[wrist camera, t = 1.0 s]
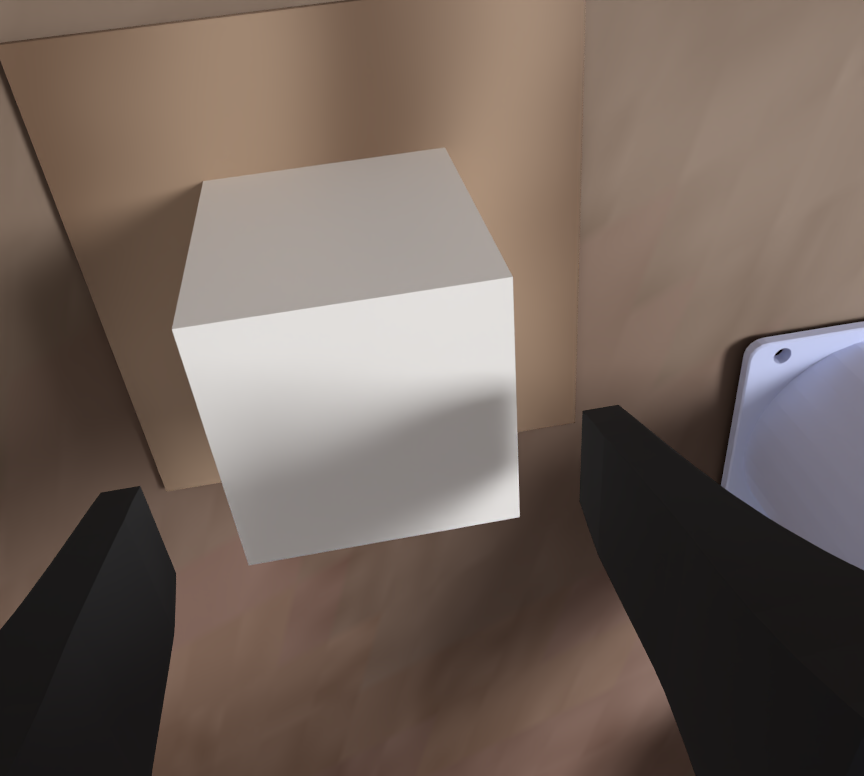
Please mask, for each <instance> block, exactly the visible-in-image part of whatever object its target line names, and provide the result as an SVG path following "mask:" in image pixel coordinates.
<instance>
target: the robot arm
mask: <svg viewBox="0 0 864 776" xmlns="http://www.w3.org/2000/svg"><path fill="white" fill-rule="evenodd" d="M783 348H784V349H783ZM781 349H783V351H782V352H781V353H780V354H779V355H776V356H775V354H776V353H777V352H778V351H779V350H781ZM580 504H581V507H582V510H583V513H584V516H585V519H586V522H587V525H588V528H589V531H590V533H591V536H592V539H593V542H594V545H595V547H596V550H597V553H598V555H599V557H600V560H601V562H602V564H603V566H604V568H605V570H606V572H607V574H608V576H609V578H610V580H611V582H612V584H613V586H614V588H615V590H616V592H617V594H618V596H619V598H620V600H621V602H622V604H623V607H624V609H625V611H626V613H627V615H628V617H629V619H630V621H631V623H632V625H633V627H634V629H635V631H636V633H637V635H638V637H639V639H640V641H641V643H642V645H643V647H644V649H645V651H646V653H647V655H648V657H649V659H650V661H651V663H652V665H653V667H654V669H655V671H656V674H657V676H658V678H659V680H660V682H661V685H662V687H663V689H664V691H665V694H666V697H667V699H668V702H669V705H670V707H671V710H672V712H673V715H674V718H675V720H676V723H677V726H678V728H679V731H680V734H681V736H682V739H683V742H684V744H685V747H686V750H687V752H688V755H689V758H690V761H691V764H692V767H693V769H694V772H695V775H696V776H864V321H862V322H856V323H850V324H844V325H838V326H831V327H825V328H819V329H813V330H807V331H801V332H795V333H789V334H783V335H776V336H770V337H764V338H760V339H757V340H755V341H754V342H752V343H751V344H750V345H749V346H748V347H747V348H746V350H745V353H744V356H743V361H742V367H741V373H740V379H739V384H738V390H737V396H736V402H735V407H734V413H733V419H732V425H731V430H730V436H729V442H728V448H727V453H726V459H725V465H724V471H723V476H722V482H721V486H720V485H719V484H718V483H716V482H715V481H714V480H712V479H711V478H710V477H708V476H707V475H706V474H704V473H703V472H702V471H700V470H699V469H698V468H696V467H695V466H694V465H693V464H691V463H690V462H689V461H687V460H686V459H685V458H683V457H682V456H681V455H680V454H678V453H677V452H676V451H675V450H673V449H672V448H671V447H670V446H668V445H667V444H666V443H665V442H663V441H662V440H661V439H660V438H659V437H657V436H656V435H655V434H654V433H652V432H651V431H650V430H649V429H648V428H646V427H645V426H644V425H643V424H641V423H640V422H639V421H638V420H637V419H635V418H634V417H633V416H632V415H630V414H629V413H628V412H627V411H625V410H624V409H623V408H622V407H620V406H619V405H615V406H609V407H603V408H597V409H591V410H585V411H583V415H582V445H581V475H580ZM175 602H176V572H175V570H174V567H173V565H172V562H171V560H170V557H169V555H168V553H167V550H166V548H165V545H164V543H163V540H162V538H161V536H160V533H159V531H158V528H157V526H156V523H155V521H154V519H153V516H152V514H151V511H150V509H149V506H148V504H147V501H146V499H145V497H144V494H143V492H142V489H141V487H140V486H138V487H132V488H126V489H120V490H114V491H108V492H102V493H101V494H100V495H99V496H98V497H97V499H96V500H95V502H94V503H93V504H92V506H91V507H90V508H89V510H88V511H87V513H86V514H85V515H84V517H83V518H82V520H81V521H80V523H79V524H78V525H77V527H76V528H75V530H74V531H73V533H72V534H71V536H70V537H69V538H68V540H67V541H66V543H65V544H64V546H63V547H62V548H61V550H60V551H59V553H58V554H57V555H56V557H55V558H54V560H53V561H52V563H51V564H50V565H49V567H48V568H47V569H46V571H45V572H44V573H43V575H42V576H41V578H40V579H39V580H38V582H37V583H36V584H35V586H34V587H33V588H32V590H31V591H30V592H29V594H28V595H27V597H26V598H25V599H24V601H23V602H22V603H21V605H20V606H19V607H18V608H17V610H16V611H15V612H14V614H13V615H12V616H11V617H10V618H9V620H8V621H7V622H6V623H5V625H4V626H3V627H2V628H1V630H0V776H152V768H153V761H154V755H155V749H156V743H157V737H158V731H159V725H160V719H161V713H162V707H163V701H164V695H165V689H166V683H167V677H168V670H169V664H170V658H171V651H172V645H173V638H174V628H175Z"/></svg>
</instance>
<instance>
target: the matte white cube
mask: <svg viewBox="0 0 864 776" xmlns="http://www.w3.org/2000/svg"><path fill="white" fill-rule="evenodd" d="M172 331H173V335H174V338H175V341H176V344H177V347H178V350H179V353H180V356H181V359H182V362H183V365H184V368H185V371H186V374H187V377H188V380H189V384H190V387H191V390H192V393H193V396H194V399H195V402H196V405H197V408H198V411H199V414H200V417H201V420H202V423H203V426H204V430H205V433H206V436H207V439H208V442H209V445H210V448H211V451H212V454H213V457H214V460H215V463H216V466H217V469H218V472H219V475H220V479H221V482H222V485H223V488H224V491H225V494H226V497H227V500H228V503H229V506H230V509H231V512H232V515H233V518H234V521H235V524H236V528H237V531H238V534H239V537H240V540H241V543H242V546H243V549H244V552H245V555H246V558H247V561H248V564H249V565H253V564H259V563H265V562H270V561H276V560H282V559H287V558H293V557H298V556H304V555H310V554H315V553H321V552H327V551H332V550H338V549H343V548H349V547H355V546H360V545H366V544H372V543H377V542H383V541H388V540H394V539H400V538H405V537H411V536H417V535H422V534H428V533H433V532H439V531H445V530H450V529H456V528H462V527H467V526H473V525H478V524H484V523H490V522H495V521H501V520H507V519H512V518H518V517H520V508H519V473H518V439H517V404H516V369H515V335H514V300H513V276H512V274H511V272H510V271H509V269H508V267H507V265H506V263H505V261H504V259H503V257H502V255H501V253H500V251H499V250H498V248H497V246H496V244H495V242H494V240H493V238H492V236H491V234H490V232H489V231H488V229H487V227H486V225H485V223H484V221H483V219H482V217H481V215H480V213H479V211H478V210H477V208H476V206H475V204H474V202H473V200H472V198H471V196H470V194H469V192H468V190H467V189H466V187H465V185H464V183H463V181H462V179H461V177H460V175H459V173H458V171H457V170H456V168H455V166H454V164H453V162H452V160H451V158H450V156H449V154H448V152H447V150H446V149H445V148H437V149H430V150H423V151H416V152H409V153H402V154H394V155H387V156H380V157H373V158H366V159H359V160H351V161H344V162H337V163H330V164H323V165H316V166H308V167H301V168H294V169H287V170H280V171H272V172H265V173H258V174H251V175H244V176H237V177H229V178H222V179H215V180H208V181H203V184H202V189H201V194H200V199H199V203H198V208H197V213H196V217H195V222H194V227H193V232H192V236H191V241H190V246H189V250H188V255H187V260H186V265H185V269H184V274H183V279H182V283H181V288H180V293H179V298H178V302H177V307H176V312H175V316H174V321H173V326H172Z"/></svg>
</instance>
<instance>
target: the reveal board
mask: <svg viewBox="0 0 864 776" xmlns="http://www.w3.org/2000/svg"><path fill="white" fill-rule="evenodd" d="M585 11H586V0H345V1H337V2H329V3H321V4H313V5H305V6H297V7H288V8H280V9H272V10H264V11H256V12H248V13H240V14H232V15H224V16H216V17H208V18H199V19H191V20H183V21H175V22H167V23H159V24H151V25H143V26H135V27H127V28H118V29H110V30H102V31H94V32H86V33H78V34H70V35H62V36H54V37H46V38H37V39H29V40H21V41H13V42H5V43H0V61H1V64H2V66H3V69H4V71H5V74H6V77H7V79H8V82H9V84H10V87H11V90H12V92H13V95H14V97H15V100H16V103H17V105H18V108H19V110H20V113H21V116H22V118H23V121H24V123H25V126H26V129H27V131H28V134H29V136H30V139H31V142H32V144H33V147H34V149H35V152H36V155H37V157H38V160H39V162H40V165H41V167H42V170H43V173H44V175H45V178H46V180H47V183H48V186H49V188H50V191H51V193H52V196H53V199H54V201H55V204H56V206H57V209H58V212H59V214H60V217H61V219H62V222H63V225H64V227H65V230H66V232H67V235H68V238H69V240H70V243H71V245H72V248H73V251H74V253H75V256H76V258H77V261H78V263H79V266H80V269H81V271H82V274H83V276H84V279H85V282H86V284H87V287H88V289H89V292H90V295H91V297H92V300H93V302H94V305H95V308H96V310H97V313H98V315H99V318H100V321H101V323H102V326H103V328H104V331H105V334H106V336H107V339H108V341H109V344H110V347H111V349H112V352H113V354H114V357H115V359H116V362H117V365H118V367H119V370H120V372H121V375H122V378H123V380H124V383H125V385H126V388H127V391H128V393H129V396H130V398H131V401H132V404H133V406H134V409H135V411H136V414H137V417H138V419H139V422H140V424H141V427H142V430H143V432H144V435H145V437H146V440H147V443H148V445H149V448H150V450H151V453H152V456H153V458H154V461H155V463H156V466H157V468H158V471H159V474H160V476H161V479H162V481H163V484H164V487H165V489H166V492H168V491H173V490H179V489H185V488H191V487H197V486H203V485H209V484H215V483H221V479H220V475H219V472H218V469H217V466H216V463H215V460H214V457H213V454H212V451H211V448H210V445H209V442H208V439H207V436H206V433H205V430H204V426H203V423H202V420H201V417H200V414H199V411H198V408H197V405H196V402H195V399H194V396H193V393H192V390H191V387H190V384H189V380H188V377H187V374H186V371H185V368H184V365H183V362H182V359H181V356H180V353H179V350H178V347H177V344H176V341H175V338H174V335H173V331H172V326H173V321H174V316H175V312H176V307H177V302H178V298H179V293H180V288H181V283H182V279H183V274H184V269H185V265H186V260H187V255H188V250H189V246H190V241H191V236H192V232H193V227H194V222H195V217H196V213H197V208H198V203H199V199H200V194H201V189H202V184H203V181H208V180H215V179H222V178H229V177H237V176H244V175H251V174H258V173H265V172H272V171H280V170H287V169H294V168H301V167H308V166H316V165H323V164H330V163H337V162H344V161H351V160H359V159H366V158H373V157H380V156H387V155H394V154H402V153H409V152H416V151H423V150H430V149H437V148H445V149H446V150H447V152H448V154H449V156H450V158H451V160H452V162H453V164H454V166H455V168H456V170H457V171H458V173H459V175H460V177H461V179H462V181H463V183H464V185H465V187H466V189H467V190H468V192H469V194H470V196H471V198H472V200H473V202H474V204H475V206H476V208H477V210H478V211H479V213H480V215H481V217H482V219H483V221H484V223H485V225H486V227H487V229H488V231H489V232H490V234H491V236H492V238H493V240H494V242H495V244H496V246H497V248H498V250H499V251H500V253H501V255H502V257H503V259H504V261H505V263H506V265H507V267H508V269H509V271H510V272H511V274H512V276H513V300H514V335H515V369H516V404H517V432H522V431H528V430H534V429H540V428H546V427H552V426H558V425H564V424H569V423H575V399H576V360H577V321H578V283H579V244H580V205H581V166H582V128H583V89H584V50H585Z"/></svg>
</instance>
